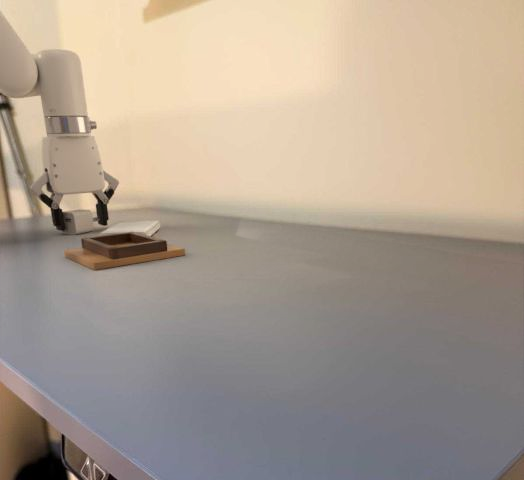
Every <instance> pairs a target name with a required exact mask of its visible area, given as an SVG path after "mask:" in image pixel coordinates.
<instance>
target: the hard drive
mask: <svg viewBox="0 0 524 480" xmlns="http://www.w3.org/2000/svg"><path fill="white" fill-rule="evenodd" d="M160 229H161V222H160V221H159V220H139V221H138V220H136V221H135V220H134V221H133V220H132V221H131V220H130V221H119V222H117V223H115V224H113V225H112V226H110V227H108V228H107V229H105V230H103V231H101V232H100V233H99V234H98V236H102V235H110V234H118V233H125V232H136V233H140V234H144V235H147V236H151V237H152V235H154V234H155V233H156V232H157V231H159V230H160Z"/></svg>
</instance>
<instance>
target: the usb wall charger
mask: <svg viewBox="0 0 524 480" xmlns="http://www.w3.org/2000/svg"><path fill="white" fill-rule="evenodd" d="M62 212H63V218H64V224H65V230H64V231H61V232H62V234H64V235H71V236H73V235H74V236H76V235H80V234H85V233H90V232H93V231H95V224H94V223H95V222H98V221H100V217H97V216H96V217H95V216H94V217H93V212H92V210H90V209H81V208H80V209H73V210H67V211H62ZM97 218H99V220H98V219H97Z"/></svg>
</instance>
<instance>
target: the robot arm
mask: <svg viewBox="0 0 524 480" xmlns="http://www.w3.org/2000/svg"><path fill="white" fill-rule="evenodd" d="M0 94H2V95H3V96H5V97H7V98H10V99H25V98H33V97H40V101H41V106H42V113H43V114H42V115H43V120H44V126H45V133H46V137H45V136H43V137H41V159H42V170H43V174H41V175H40V176H39V177H38V178H37V179H36V180H35V181H34V182H32V184H30V185H29V190H30V191H31V192H32V194H34V195H35V196H36V197H37V198H38V200H39V201H41V202H42V203H43V204H45V205H46V206H47V207H48V208H49V210H50V215H51V221H52V225H53V227H55V229H56V230H57V231H60V232H62V231H64V230H65V224H64V218H63V212H64V211H63V209H62V208H60V203H61V202H62V199H63V197H64V195H79V194H89V193H90V194H92V195H93V197H94V198H95V199H96V201H97V202H96V204H95V211H96V217H100V221H97V224H98V225H100V226H104V227H106V226H108V221H109V219H110V218H109V210H108V204H109V203H110V200H111V199H112V198H113V196H114V195H115V191H116V190H117V188H118V186H119V184H120V181H119V180H118V178H116V177H114V176H112V175H111V174H109V173H108V172H106V171H105V170H104V169H103V168H104V167H103V163H102V159H101V154H100V151H99V147H98V144H97V141H96V139H95V138H96V137H95V136H94V135H91V133H92V131H93V130H97V128H98V125H97V122H96V120H95V121H93V120H90V119H91V118H90V117H89V114H88V105H87V98H86V90H85V84H84V75H83V67H82V61H81V58H80V56H79V55H78V54H77V53H76V52H75V51H73V50H68V49H60V48H59V49H57V48H51V49H42V50H39V51H38V52H37V53H31V52H30V50H29V49H28V47H27V46H26V44H25V43H24V42H23V39H21V37H20V36H19V34H18V32H16V30H15V29H14V27H13V26H12V25H11V23H10V22H9V20H8V19H7V18H6V16H5V15H4V14H3V12H2V11H1V10H0ZM106 182H107V187H106ZM43 187H45V190H46V192H48V193H50V196H49V195H47V194H46V193H45V192H44V191H43V190H42V188H43ZM105 187H106V188H105ZM104 189H105V190H104ZM97 220H99V218H97Z"/></svg>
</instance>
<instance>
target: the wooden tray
mask: <svg viewBox="0 0 524 480" xmlns="http://www.w3.org/2000/svg"><path fill="white" fill-rule="evenodd" d="M80 242H81V247H79V248H72V249H71V248H70V249H65V250H63V253H64V258H67V259H69V260H71V261H74V262H76V263H77V264H80V265H83V266H85V267H87V268H89V269H91V270H94V271H100V270H105V269H111V268H115V267H116V268H117V267H122V266H128V265H134V264H140V263H147V262H152V261H159V260H164V259H171V258H177V257H181V256H182V257H183V256H185V255H186V249H185V248H184V247H181V246H176V245H173V244H170V243H168V242H167V240H165V239H162V238H159V237H158V238H157V237H154V236H152V235H151V236H147V235H144V234H140V233H136V232H125V233H118V234H110V235H102V236H99V235H95V236H88V237H81V238H80Z"/></svg>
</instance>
